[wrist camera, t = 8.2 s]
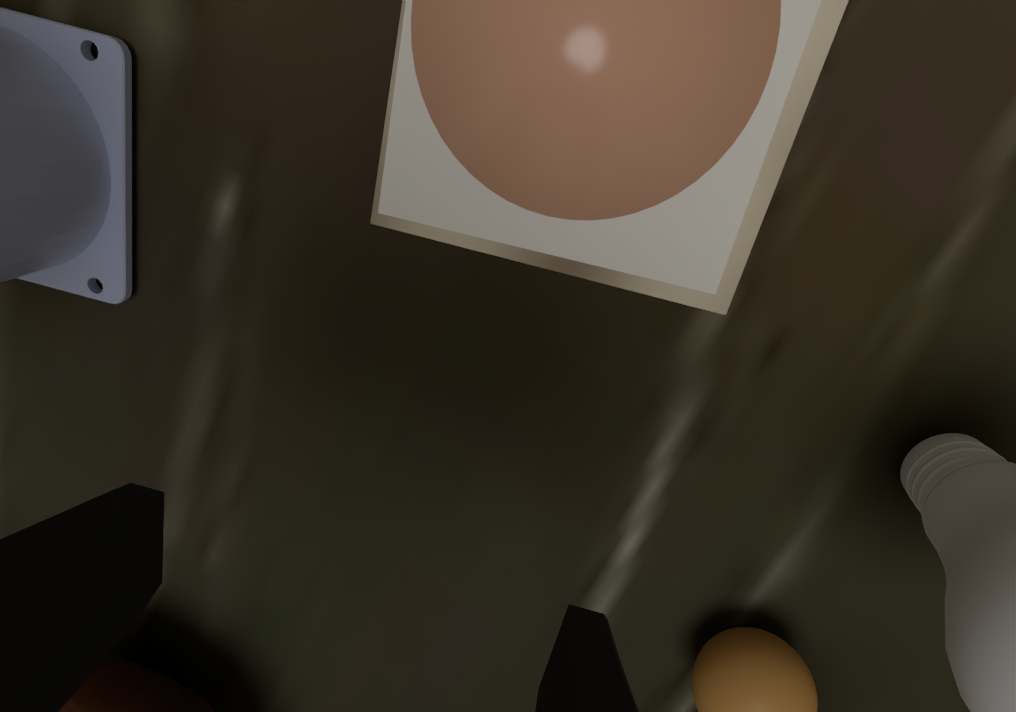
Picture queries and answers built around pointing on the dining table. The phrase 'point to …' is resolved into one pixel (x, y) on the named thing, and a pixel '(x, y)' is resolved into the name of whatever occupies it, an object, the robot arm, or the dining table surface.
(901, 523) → the dining table surface
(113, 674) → the butternut squash
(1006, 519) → the lightbulb
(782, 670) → the figurine
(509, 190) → the terracotta cylinder
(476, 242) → the birch slab
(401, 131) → the cream slab
